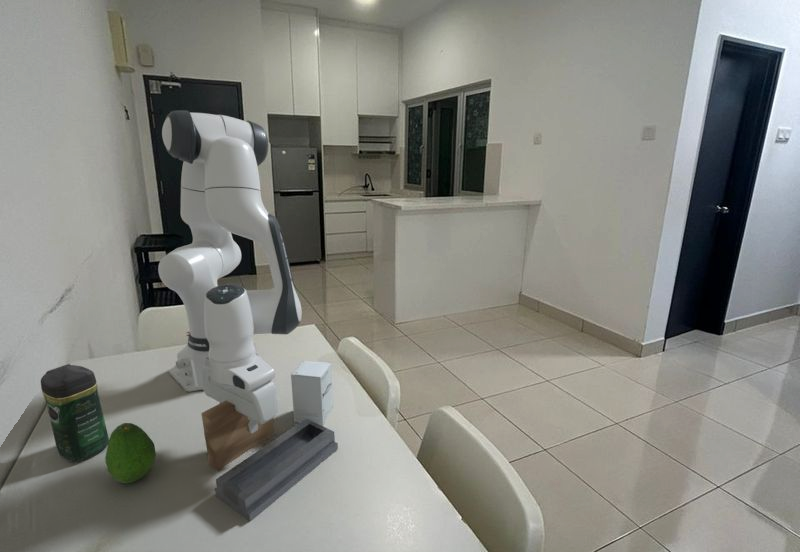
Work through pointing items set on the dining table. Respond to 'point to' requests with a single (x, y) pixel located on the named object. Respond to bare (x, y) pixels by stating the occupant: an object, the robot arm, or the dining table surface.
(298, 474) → the tray
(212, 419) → the door panel
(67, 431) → the coffee jar
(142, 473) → the avocado
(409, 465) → the dining table surface
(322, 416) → the supplement box
